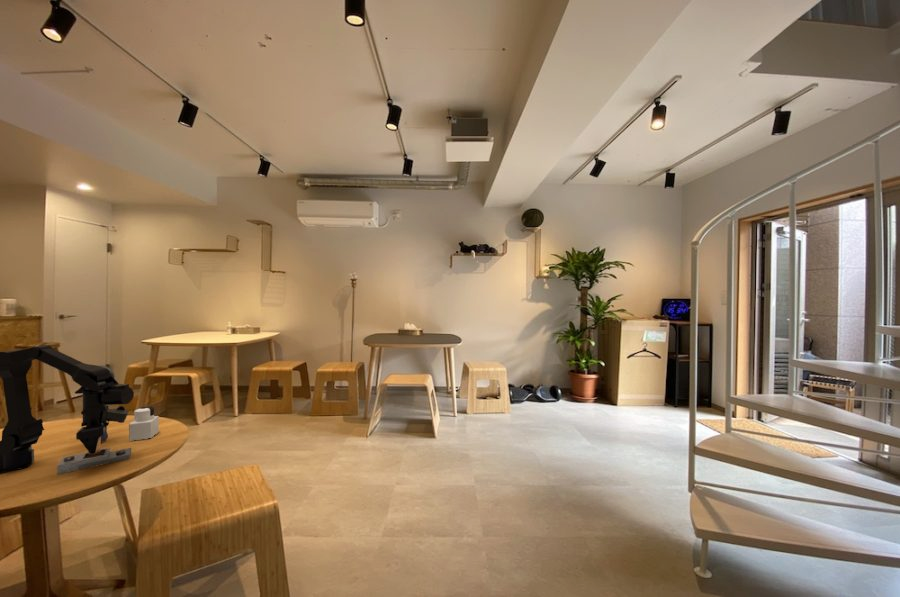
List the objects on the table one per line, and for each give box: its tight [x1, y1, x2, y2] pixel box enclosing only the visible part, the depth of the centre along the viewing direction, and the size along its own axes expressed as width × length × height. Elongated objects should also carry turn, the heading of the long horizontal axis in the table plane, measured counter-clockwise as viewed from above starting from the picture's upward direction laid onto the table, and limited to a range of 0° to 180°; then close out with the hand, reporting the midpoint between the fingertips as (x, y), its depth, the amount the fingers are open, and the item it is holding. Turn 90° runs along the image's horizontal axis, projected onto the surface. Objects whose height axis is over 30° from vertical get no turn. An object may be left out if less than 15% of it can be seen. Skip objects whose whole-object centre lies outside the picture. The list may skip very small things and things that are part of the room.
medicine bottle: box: [128, 405, 160, 442], centre depth 139 cm, size 7×7×12 cm
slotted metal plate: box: [57, 447, 132, 475], centre depth 118 cm, size 17×7×4 cm, turn 130°
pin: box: [87, 437, 102, 458], centre depth 118 cm, size 4×4×10 cm
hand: (94, 449), depth 118 cm, fingers open, 7 cm apart
